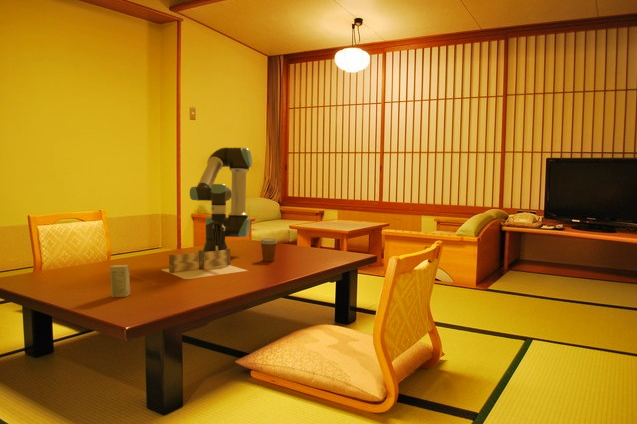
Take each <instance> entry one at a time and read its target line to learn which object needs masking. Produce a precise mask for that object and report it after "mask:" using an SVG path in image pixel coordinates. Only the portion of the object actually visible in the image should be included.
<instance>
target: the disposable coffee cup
mask: <svg viewBox="0 0 637 424" xmlns="http://www.w3.org/2000/svg"><path fill="white" fill-rule="evenodd" d="M277 243H278V240H277V239H276V238H261V239H260V246H261V255H262V261H263V262H274V261H275V258H276V257H275V255H276V249H277Z"/></svg>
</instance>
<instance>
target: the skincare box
mask: <svg viewBox="0 0 637 424" xmlns="http://www.w3.org/2000/svg"><path fill="white" fill-rule="evenodd" d="M109 275H110V277H109V278H110V291H111V292H110V293H111V294H110V296H111V298H115V297H116V298H123V297H125V298H126V297H128V296H130V295H131V283H130V281H131V280H130V265H129V264H122V265H121V264H114V265H111V266H110V267H109Z"/></svg>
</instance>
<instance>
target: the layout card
mask: <svg viewBox="0 0 637 424" xmlns="http://www.w3.org/2000/svg"><path fill="white" fill-rule="evenodd" d="M161 271H162V272H166V273H168V274H171V275H174V276H176V277H179V278H181V279H184V280H189V279H190V280H191V279H197V278H198V279H199V278H205V277H213V276H218V275H219V276H220V275H227V274H234V273H241V272H249V270H247V269H245V268H244V269H243V268H240V267H238V266H234V265H231V264H230V265H224V266H216V267H208V268H203V269H192V270H184V271H176V272H174V273H170V272H169V268H164V269H163V268H162V269H161Z"/></svg>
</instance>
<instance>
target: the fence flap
mask: <svg viewBox="0 0 637 424" xmlns="http://www.w3.org/2000/svg"><path fill="white" fill-rule="evenodd" d="M224 265H231V248H228V247H227V249H226V250H220V251H210V252H203V268H208V267H216V266H224Z"/></svg>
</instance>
